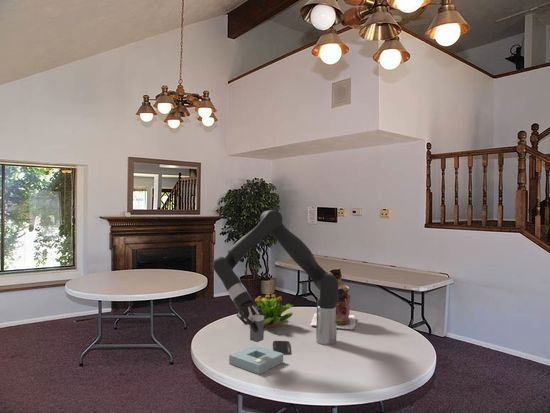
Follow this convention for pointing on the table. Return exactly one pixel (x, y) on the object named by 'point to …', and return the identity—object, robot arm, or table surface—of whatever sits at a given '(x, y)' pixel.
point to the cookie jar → (340, 304)
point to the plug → (260, 324)
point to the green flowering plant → (273, 310)
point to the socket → (256, 359)
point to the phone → (281, 347)
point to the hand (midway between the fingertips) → (260, 330)
